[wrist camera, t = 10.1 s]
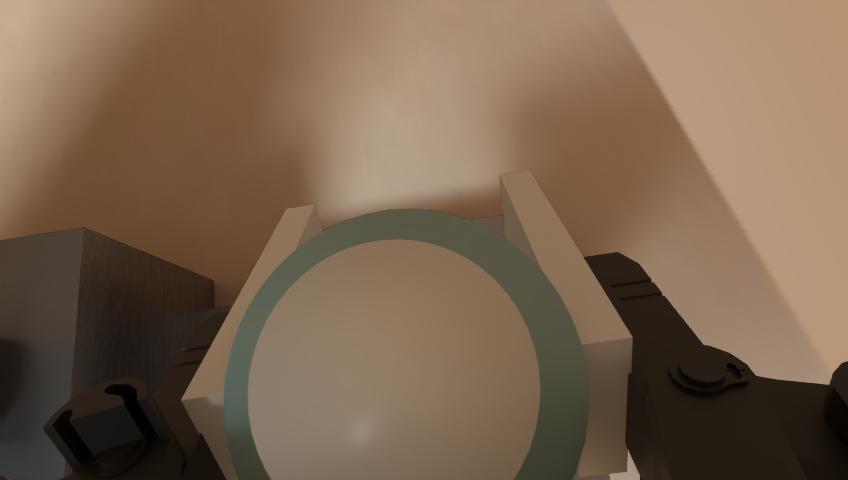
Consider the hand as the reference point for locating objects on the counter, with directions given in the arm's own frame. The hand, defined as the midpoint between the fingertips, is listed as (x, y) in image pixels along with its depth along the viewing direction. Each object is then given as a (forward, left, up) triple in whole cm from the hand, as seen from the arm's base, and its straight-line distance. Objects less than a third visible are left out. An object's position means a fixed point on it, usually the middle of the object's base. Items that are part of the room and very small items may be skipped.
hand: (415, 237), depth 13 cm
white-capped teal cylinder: (+2, -3, -3) cm, 5 cm away
